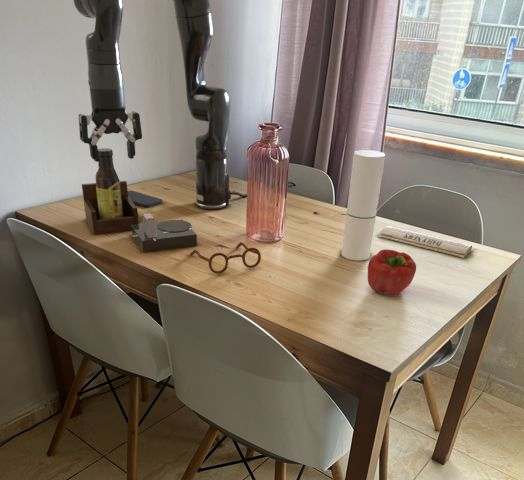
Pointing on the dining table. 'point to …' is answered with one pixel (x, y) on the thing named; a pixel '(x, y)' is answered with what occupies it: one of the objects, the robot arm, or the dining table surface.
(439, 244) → the newspaper
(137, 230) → the hob
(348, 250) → the cylindrical container
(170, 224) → the burner ring
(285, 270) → the dining table surface
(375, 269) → the vegetable
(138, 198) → the phone
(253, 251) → the glasses
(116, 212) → the sauce bottle
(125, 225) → the spice rack
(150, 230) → the knob
